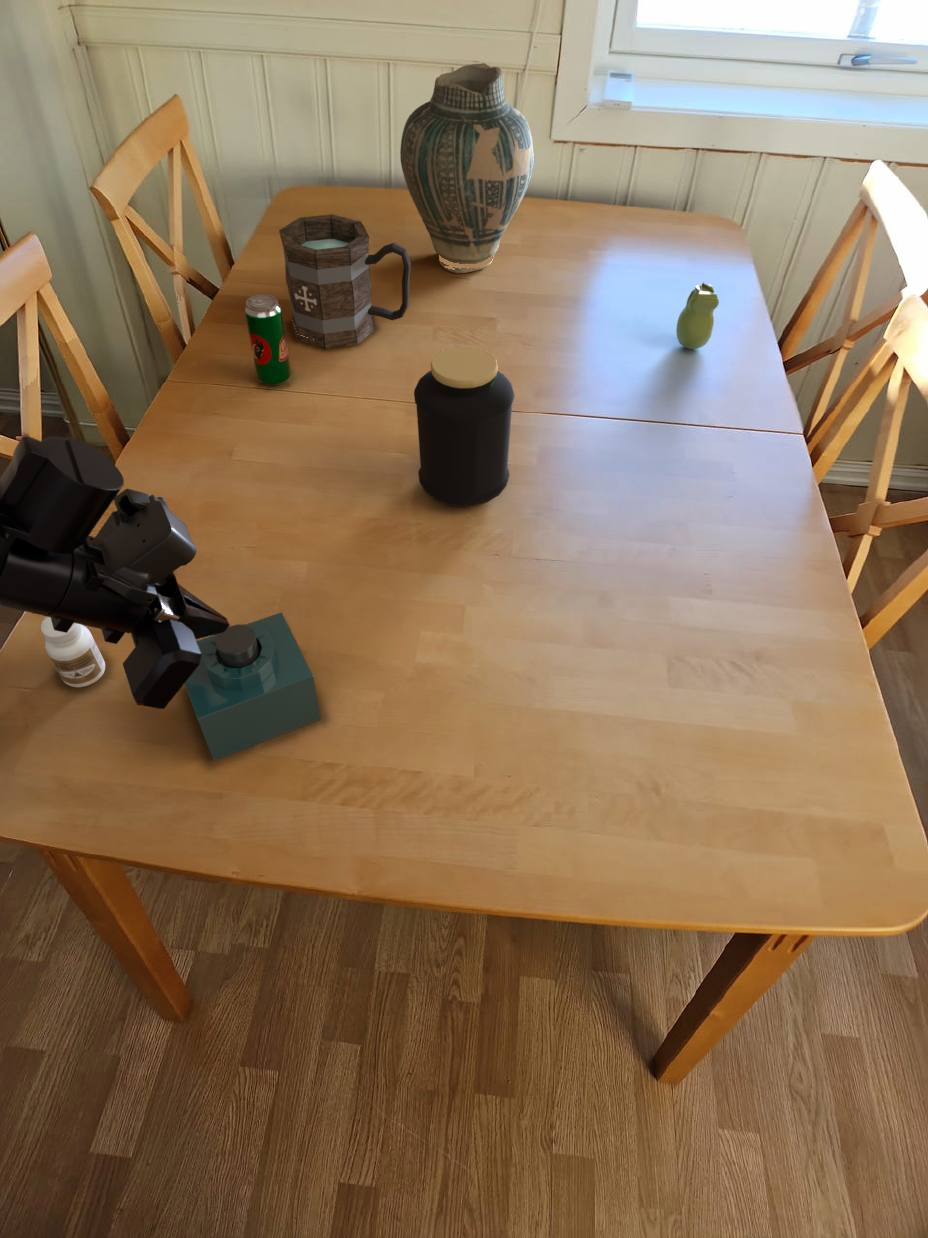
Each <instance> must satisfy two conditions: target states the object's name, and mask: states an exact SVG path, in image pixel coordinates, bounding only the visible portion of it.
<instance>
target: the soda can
mask: <svg viewBox="0 0 928 1238" xmlns="http://www.w3.org/2000/svg"><path fill="white" fill-rule="evenodd" d="M244 316H245V320H246V321H245V322H246V326H247V331H248V337H249V341H250V347H251V352H252V358H253V363H254V369H255V374H256V378H257V380H258V381H259V382H261V383H262V384H263V385H265V386H266V385H267V386H270V387H271V386H272V387H273V386H280V385H283V384H285V383H286V382H287V381H289V379H290V378H291V376H292V370H291V363H290V355H289V349H288V343H287V335H286V330H285V329H286V328H285V323H284V316H283V309H282V306H281V304H280V303H279V301H278V298H277V297H275V296H273V295H270V294H257V295H253V296H250V297H249V298H248V299H247V300H246V302H245V308H244Z"/></svg>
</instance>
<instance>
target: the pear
mask: <svg viewBox="0 0 928 1238" xmlns="http://www.w3.org/2000/svg"><path fill="white" fill-rule="evenodd" d="M719 304H720V300H719V298H718V294H717V293H716V291H715V288H714V286H712V285H711V284H709V283H705V282H702V283H701V285H695V287H694V289H692V291H691V292H690V294H689V295H688V296H687V299H686V303H685V307H684V308H683V309H682V310H681V312H680V313H679V316H678V319H677V321H676V331H675V332H676V339H677V341H678V343H679V344H680V345H681V346H682V347H683V348H686V349H689V350H698V349H700V348H702V347H704V346H705V345H706V344H707V343H708V342H709V340H710V339H711V336H712V333H713V330H714V323H715V319H714V311H715V309H717V308H718V306H719Z"/></svg>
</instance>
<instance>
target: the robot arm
mask: <svg viewBox="0 0 928 1238" xmlns="http://www.w3.org/2000/svg"><path fill="white" fill-rule="evenodd" d="M10 460H11V461H10V462H9V464H8V466H6V468H5V470H4V472H3V473H2V475H1V477H0V606H1V607H5V608H10V609H13V610H18V611H22V612H26V613H31V614H34V615H39V616H44V617H51V621H52V625H53V629H54V630H56V631H60V632H65V633H67V632H68V631H69V629H70V628H71V626H72V625H73V624H74V623H77V624H81V625H83V626H85V627H90V628H94V629H99V630H101V634H102V636H103V640H104V642H105V643H110V644H115V645H117V644H118V643H119V642H120V640H121V639H122V638H123V636H125V634H130V635H131V639H132V641H133V642H132V643H133V645H134V648H133V649H132V651H131V652H130V653H129V655H128V656H127V657H126V659H125V660H124V661H123V662H122V666H123V670H124V673H125V676H126V680H127V682H128V686H129V688H130V692H131V696H132V697H133V699H134V702H135V703H136V705H137V706H141V707H147V708H152V709H160V710H165V708H167V706H168V705H169V703H170V702H171V701H172V700H173V699H174V697H175V696H176V695H177V694H178V692H180V690H181V688H182V687H183V686H185V682H186V681H187V680H188V678H189V677H190V676H191V675H192V673H193V672H194V671H195V670H196V668H197V667H198V666H199V665H200V660H201V655H202V654H201V651H200V649H199V646H198V644H197V641H198V640H200V639H204V638H207V637H210V636H213V635H215V634H219V633H223V632H224V631H225V630H226V629H227V628H228V627H230V623H229V621H228V618H227V617H226V616H225V615H223V614H222V613H220V612H219V611H217V610H216V609H214V608H213V607H211V606H210V605H209V604H207V603H206V602H204V601H202V600H201V599H200V598H199V597H197V596H196V595H194V594H193V593H191V592H190V591H188V590H187V589H186V588H184V587H183V586H182V585H181V584H180V583H178V580H177V577H176V574H175V571H177V570H178V569H179V568H181V567H183V566H184V567H185V566H187V565H188V564H190V563H191V562H192V561H193V560H194V559H195V557H196V555H197V550H198V549H197V546H196V543H195V542H194V541H193V539H192V537H191V535H190V532H189V530H188V529H189V528H188V525H187V524H186V523H185V522H184V521H183V520H182V519H181V518H180V517H179V516H178V515H176V514H175V513H174V512H173V511H172V510H170V508H169V505H168V503H167V501H166V499H165V497H161V496H155V495H154V494H151V495H150V494H148V493H146V492H144V491H143V492H142V491H139V490H134V489H131V488H125V489H124V490H122V488H123V486H124V485H125V480H124V479H125V478H124V476H123V475H122V473H121V471H120V470H119V468H118V467H117V466H116V464H114V462H113V461H111V460H110V459H109V458H108V457H107V456H106V455H104V454H103V453H102V452H100V451H99V450H97V449H96V448H94V447H93V446H91V445H89V444H87V443H85V442H83V441H81V440H79V439H78V438H77V439H76V438H74V437H71V436H67V438H66V437H61V436H48V437H45V438H44V439H42V441H41V440H39V439H36V438H33V437H31V436H28V435H25V436H22V437H21V438H20V440H19V442H18V443H17V445H16V446H15V448H14V450H13V454H12V458H11V459H10ZM121 490H122V491H121ZM119 492H120V493H119ZM113 502H114V505H115V508H116V510H115V511H112V512H111V513H110V515H109V516H108V517H107V519H106V521H105V522H104V524H103V525H102V526H101V528H100V530H99V531H98V532H97V534H96V535H95V536H93V535H90V534H91V533H92V532H93V530H94V529H95V527H96V526H97V524H98V523H99V521H100V520H101V519H102V517H103V516H104V515H105V514H106V511H107V510H108V509H109V507H110V505H111V504H112V503H113Z"/></svg>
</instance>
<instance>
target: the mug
mask: <svg viewBox="0 0 928 1238" xmlns="http://www.w3.org/2000/svg"><path fill="white" fill-rule="evenodd" d="M278 232H279V236H280V240H281V244H282V248H283V249H282V250H283V256H284V265H285V266H284V267H285V281H286V286H287V290H288V296H289V302H290V307H291V326H292V329H293V333H294V334H295V338H296V341H298V342H300V343H303V344H307V345H310V346H313V347H316V348H319V349H323V350H330V349H338V348H344V347H351V346H358V345H359V344H360V343H362V341H364V340H365V339H366V338H367V337H369V336H370V335H371V334H372V333H373V332H374V331H375V326H374V320H373V316H375V317H379V318H383V319H386V320H389V321H395V320H399V319H402V318H403V317H404V315H405V313H406V312H407V309H408V307H409V305H410V277H411V267H412V264H411V261H410V257H409V254H408V252H407V248H406V247H403V246H401V245H399V244H397V243H395V242H392V243H388V244H385V245H383V246H382V247H381V248H380V249H379V250H378V251H377V252H376V253H374V254H369V247H370V235H369V233H368V231H367V230H366V227H365V226H364V223H363V222H362V221H360V220H358V219H354V218H353V219H352V218H350V217H349V218H348V217H345V216H341V215H337V214H333V213H332V214H331V213H329V214H321V215H320V214H319V215H310V216H303V217H298V218H296V219H295V220H293V221H291V222H290V223H288V224H287V225H285V226H283V227H282V228H281V229H279V230H278ZM392 253H394V254H396V255H398V256H400V257H401V260H402V265H403V268H402V269H403V270H402V277H401V304H400V307H399V309H396V310H394V311H393V310H390V309H388V308H386V307H382V306H378V305H374V304H372V291H373V290H372V289H373V283H372V277H371V271H370V265H376V264H377V263H379V262H380V261H382V260H383V258H384V257H385V256H386V255H389V254H392ZM292 320H293V321H292ZM293 323H294V324H293ZM294 325H295V327H294ZM371 325H372V326H371ZM370 326H371V327H370ZM369 327H370V328H369ZM295 328H296V329H295ZM296 331H297V332H296ZM297 334H299V335H297ZM300 335H303V336H305V337H303V336H300ZM306 337H308V338H306ZM313 339H314V340H313Z"/></svg>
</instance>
